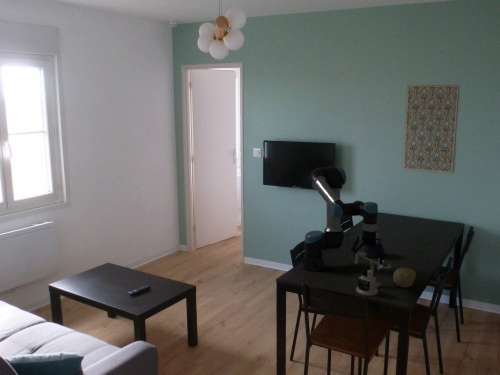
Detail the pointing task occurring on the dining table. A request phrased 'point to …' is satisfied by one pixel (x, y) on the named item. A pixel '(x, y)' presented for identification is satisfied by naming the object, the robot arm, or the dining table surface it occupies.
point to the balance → (383, 265)
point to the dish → (367, 292)
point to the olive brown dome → (404, 277)
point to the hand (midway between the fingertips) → (367, 266)
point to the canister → (370, 250)
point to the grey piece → (367, 281)
